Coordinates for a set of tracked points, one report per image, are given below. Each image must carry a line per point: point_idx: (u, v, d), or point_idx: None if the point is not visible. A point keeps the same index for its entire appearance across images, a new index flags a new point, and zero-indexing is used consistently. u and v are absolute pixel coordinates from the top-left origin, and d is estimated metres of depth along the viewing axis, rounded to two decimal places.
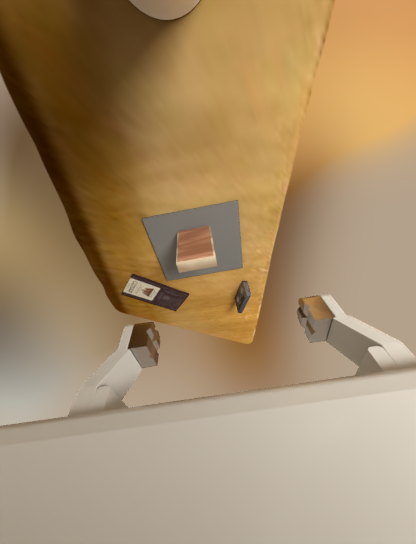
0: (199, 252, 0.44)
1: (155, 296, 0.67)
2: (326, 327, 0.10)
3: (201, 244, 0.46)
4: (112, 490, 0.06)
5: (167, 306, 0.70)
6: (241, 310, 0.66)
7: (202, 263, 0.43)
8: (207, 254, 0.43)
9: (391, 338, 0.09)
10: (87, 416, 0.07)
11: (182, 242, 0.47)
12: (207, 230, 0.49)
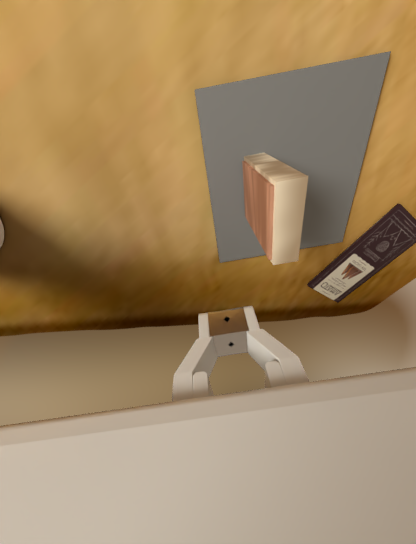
0: (265, 211, 0.20)
1: (368, 262, 0.38)
2: (243, 340, 0.10)
3: (257, 196, 0.22)
4: (112, 490, 0.06)
5: (405, 246, 0.36)
6: None
7: (288, 214, 0.18)
8: (269, 199, 0.18)
9: (290, 353, 0.09)
10: (87, 416, 0.07)
11: (253, 225, 0.26)
12: (246, 168, 0.25)
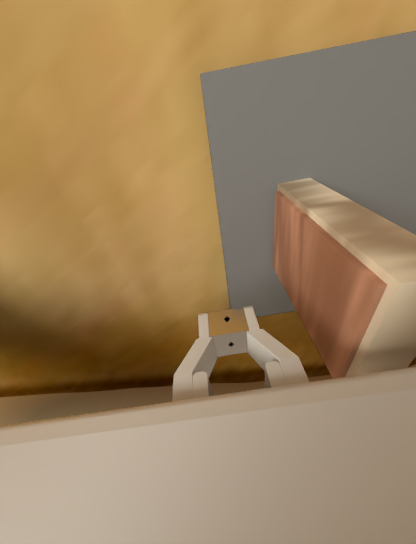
0: (338, 308, 0.10)
1: None
2: (243, 340, 0.10)
3: (312, 266, 0.12)
4: (112, 490, 0.06)
5: None
6: None
7: (402, 333, 0.09)
8: (363, 302, 0.08)
9: (290, 353, 0.09)
10: (87, 416, 0.07)
11: (293, 295, 0.16)
12: (284, 205, 0.15)
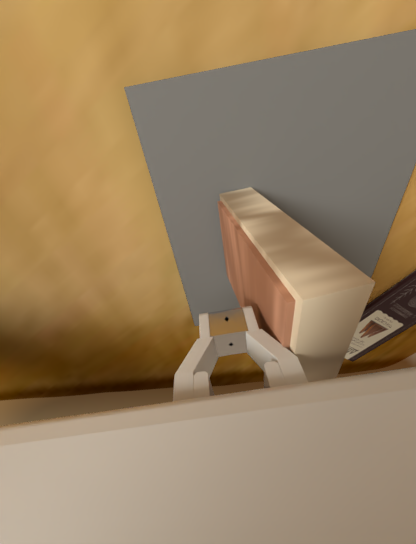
0: (268, 321, 0.10)
1: (395, 319, 0.28)
2: (242, 340, 0.10)
3: (248, 277, 0.12)
4: (112, 490, 0.06)
5: None
6: None
7: (322, 343, 0.09)
8: (281, 317, 0.08)
9: (289, 353, 0.09)
10: (87, 416, 0.07)
11: (242, 304, 0.16)
12: (224, 216, 0.15)
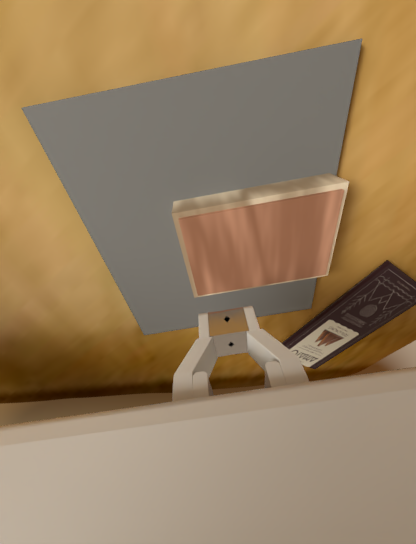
0: (316, 230, 0.16)
1: (350, 328, 0.28)
2: (243, 340, 0.10)
3: (278, 231, 0.16)
4: (112, 490, 0.06)
5: (399, 309, 0.27)
6: None
7: None
8: (335, 207, 0.15)
9: (290, 353, 0.09)
10: (87, 416, 0.07)
11: (254, 278, 0.18)
12: (208, 220, 0.15)
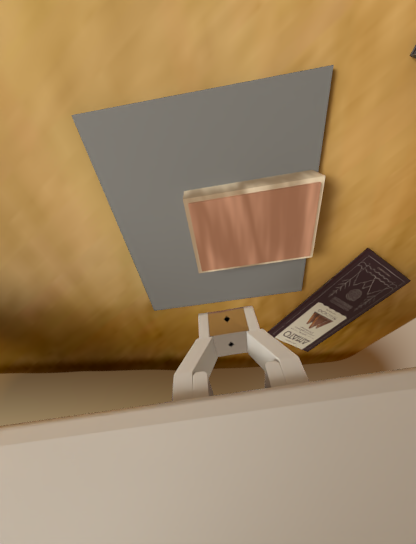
0: (300, 216, 0.19)
1: (338, 311, 0.31)
2: (243, 340, 0.10)
3: (268, 216, 0.19)
4: (112, 491, 0.06)
5: (382, 295, 0.30)
6: None
7: None
8: (315, 197, 0.18)
9: (290, 353, 0.09)
10: (87, 416, 0.07)
11: (249, 257, 0.22)
12: (212, 205, 0.19)
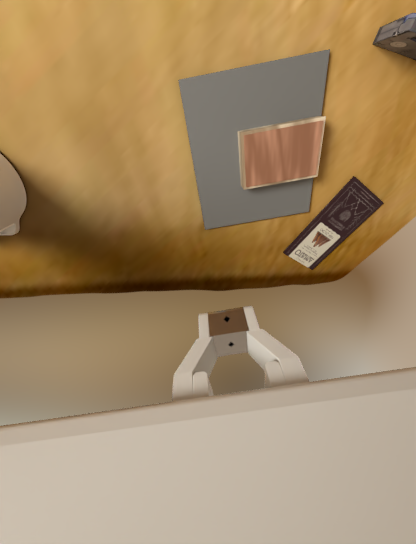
0: (310, 144, 0.32)
1: (334, 230, 0.44)
2: (243, 340, 0.10)
3: (291, 144, 0.32)
4: (112, 491, 0.06)
5: (364, 215, 0.42)
6: None
7: None
8: (319, 130, 0.31)
9: (290, 353, 0.09)
10: (87, 416, 0.07)
11: (277, 175, 0.34)
12: (258, 136, 0.31)
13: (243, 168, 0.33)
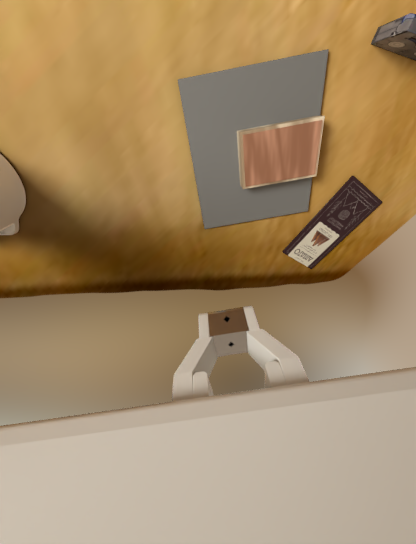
0: (309, 144, 0.32)
1: (333, 230, 0.44)
2: (243, 340, 0.10)
3: (290, 143, 0.32)
4: (112, 490, 0.06)
5: (363, 214, 0.43)
6: None
7: None
8: (318, 130, 0.31)
9: (290, 353, 0.09)
10: (87, 416, 0.07)
11: (276, 175, 0.34)
12: (257, 135, 0.31)
13: (242, 168, 0.34)
